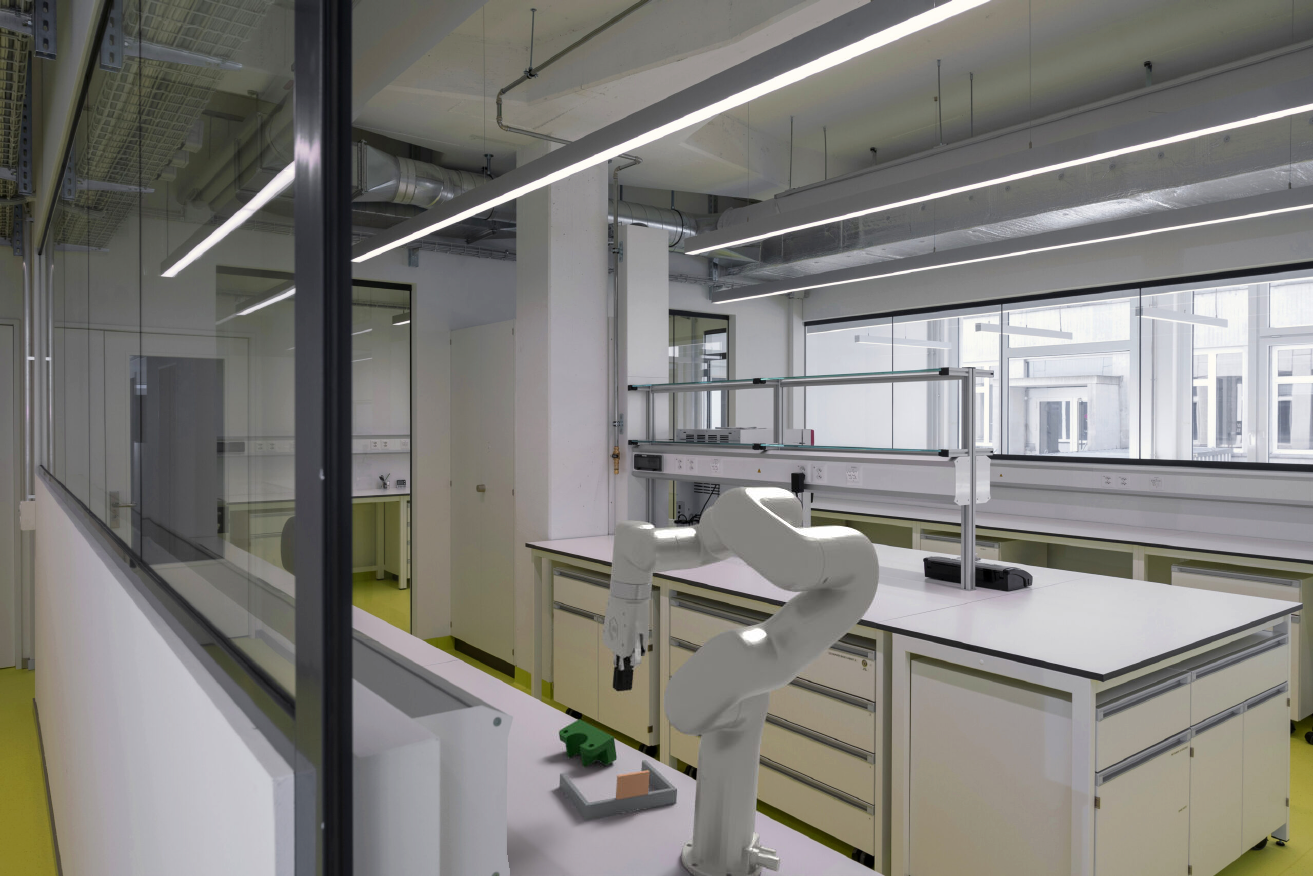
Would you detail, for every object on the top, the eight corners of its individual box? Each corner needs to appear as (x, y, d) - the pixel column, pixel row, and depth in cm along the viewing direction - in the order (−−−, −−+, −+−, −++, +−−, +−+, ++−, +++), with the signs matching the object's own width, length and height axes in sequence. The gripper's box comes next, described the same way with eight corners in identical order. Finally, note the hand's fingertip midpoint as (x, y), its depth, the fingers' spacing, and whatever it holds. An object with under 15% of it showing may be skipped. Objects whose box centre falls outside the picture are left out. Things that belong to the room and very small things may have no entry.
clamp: (568, 776, 158) (551, 732, 159) (590, 761, 162) (575, 719, 163) (599, 775, 149) (581, 729, 150) (622, 760, 153) (605, 715, 154)
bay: (559, 787, 143) (561, 752, 143) (644, 772, 151) (646, 739, 151) (585, 820, 132) (587, 782, 132) (676, 803, 140) (678, 767, 140)
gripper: (595, 580, 146) (587, 676, 147) (629, 601, 133) (620, 707, 133) (631, 579, 149) (623, 673, 150) (668, 599, 136) (659, 702, 137)
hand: (622, 689), depth 142 cm, fingers closed
